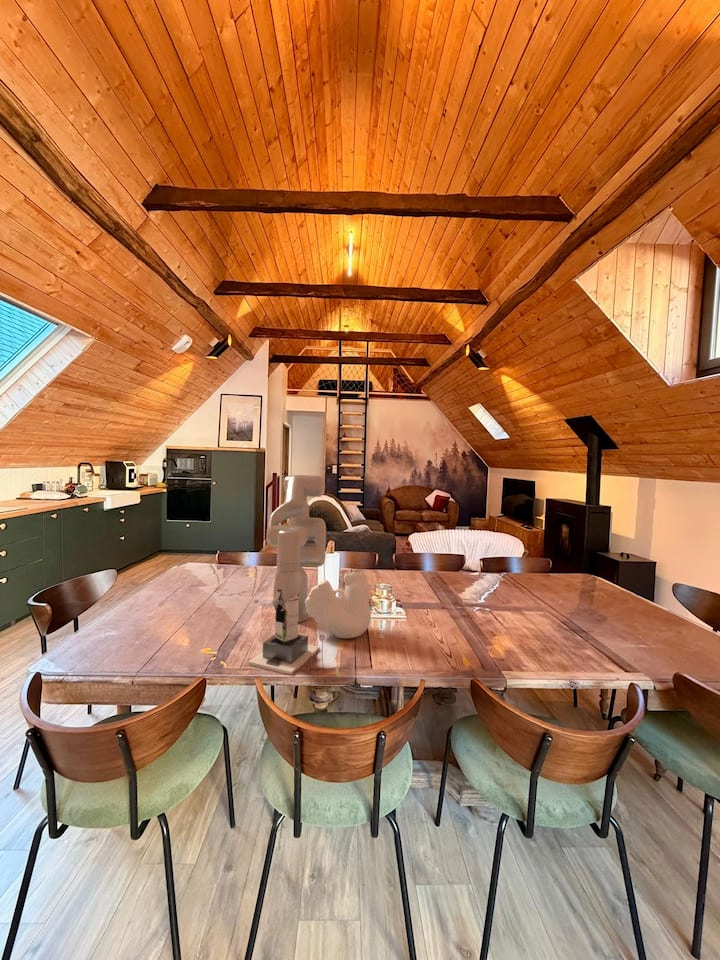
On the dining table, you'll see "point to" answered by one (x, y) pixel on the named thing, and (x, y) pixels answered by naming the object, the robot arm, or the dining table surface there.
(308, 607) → the decorative rooster
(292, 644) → the pocket stand
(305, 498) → the robot arm
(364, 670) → the dining table surface
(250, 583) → the dining table surface
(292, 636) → the syrup box
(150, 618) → the dining table surface
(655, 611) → the dining table surface
